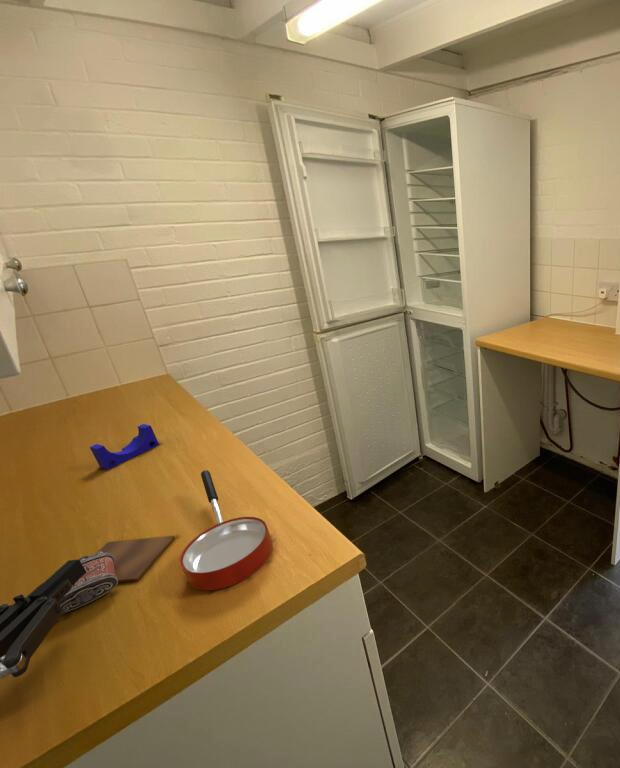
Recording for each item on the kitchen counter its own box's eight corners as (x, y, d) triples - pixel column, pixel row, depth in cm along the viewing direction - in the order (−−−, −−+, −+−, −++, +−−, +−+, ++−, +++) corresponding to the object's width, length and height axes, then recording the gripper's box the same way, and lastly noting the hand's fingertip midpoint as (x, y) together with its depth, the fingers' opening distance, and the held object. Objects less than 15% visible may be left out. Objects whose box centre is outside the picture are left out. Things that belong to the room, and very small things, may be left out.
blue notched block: (148, 442, 115) (140, 423, 113) (159, 444, 114) (150, 425, 111) (96, 466, 105) (85, 446, 102) (107, 469, 103) (96, 449, 101)
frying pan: (163, 514, 87) (151, 490, 84) (233, 485, 95) (224, 462, 93) (198, 606, 66) (184, 578, 64) (284, 558, 75) (274, 531, 72)
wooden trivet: (62, 588, 71) (61, 586, 70) (109, 544, 80) (107, 542, 79) (138, 580, 72) (136, 578, 71) (175, 538, 81) (174, 535, 80)
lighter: (121, 586, 70) (116, 555, 76) (112, 572, 68) (108, 541, 75) (54, 619, 65) (54, 582, 71) (43, 604, 63) (44, 568, 70)
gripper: (-158, 773, 45) (44, 587, 66) (-27, 756, 46) (131, 579, 67) (-210, 733, 42) (20, 552, 63) (-68, 716, 43) (111, 543, 64)
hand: (77, 566), depth 65 cm, fingers closed
